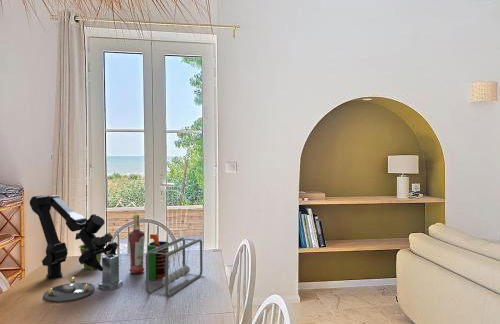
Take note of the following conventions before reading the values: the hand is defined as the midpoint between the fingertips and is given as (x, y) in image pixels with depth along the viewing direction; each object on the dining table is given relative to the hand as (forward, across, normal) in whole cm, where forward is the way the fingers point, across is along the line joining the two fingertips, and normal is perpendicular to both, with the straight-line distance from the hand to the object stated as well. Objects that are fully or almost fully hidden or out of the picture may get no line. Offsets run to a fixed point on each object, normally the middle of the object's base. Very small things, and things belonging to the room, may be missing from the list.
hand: (110, 267), depth 163 cm
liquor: (+5, +19, +7) cm, 21 cm away
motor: (+14, +18, -2) cm, 23 cm away
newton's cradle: (+24, +12, -12) cm, 30 cm away
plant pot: (-14, +17, +25) cm, 33 cm away
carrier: (-1, -12, +13) cm, 18 cm away
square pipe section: (+6, 0, +6) cm, 8 cm away
